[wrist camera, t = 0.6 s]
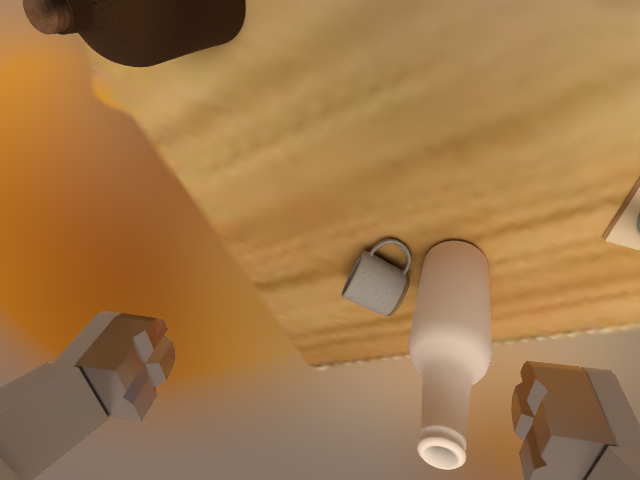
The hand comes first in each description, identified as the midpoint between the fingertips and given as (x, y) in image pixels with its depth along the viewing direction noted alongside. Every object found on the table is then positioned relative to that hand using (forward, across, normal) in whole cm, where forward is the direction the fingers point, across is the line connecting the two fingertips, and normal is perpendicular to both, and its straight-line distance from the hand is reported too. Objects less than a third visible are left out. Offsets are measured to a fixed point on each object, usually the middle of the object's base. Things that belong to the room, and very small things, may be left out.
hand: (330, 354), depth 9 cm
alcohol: (+43, -10, +30) cm, 53 cm away
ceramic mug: (+44, +1, +32) cm, 55 cm away
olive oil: (+49, +23, -4) cm, 55 cm away
